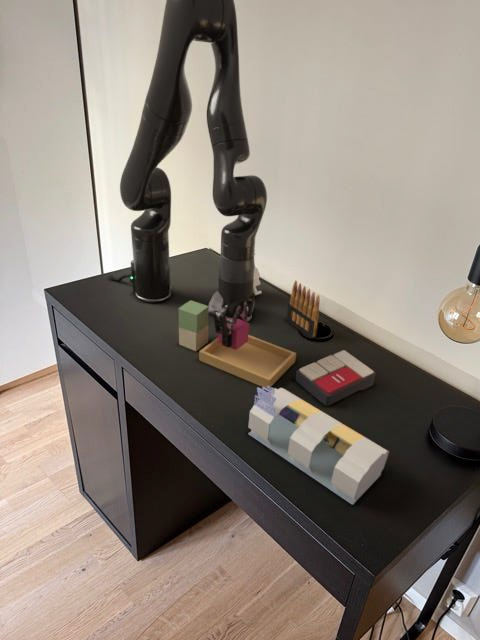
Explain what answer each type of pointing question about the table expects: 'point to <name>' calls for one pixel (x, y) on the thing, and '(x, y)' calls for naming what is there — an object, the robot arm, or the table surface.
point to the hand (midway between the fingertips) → (233, 340)
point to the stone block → (219, 304)
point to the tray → (250, 360)
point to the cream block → (193, 338)
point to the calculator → (335, 377)
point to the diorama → (316, 443)
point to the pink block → (238, 334)
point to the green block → (193, 316)
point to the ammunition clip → (304, 311)
